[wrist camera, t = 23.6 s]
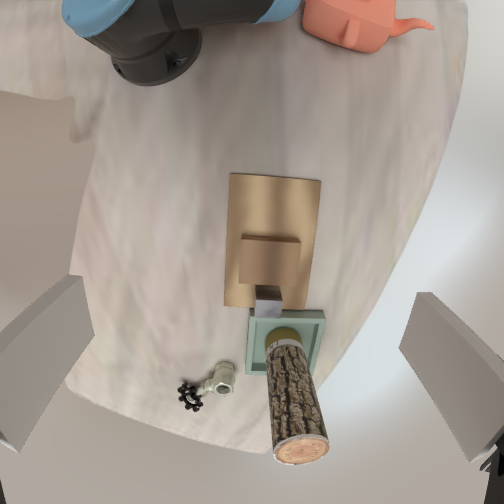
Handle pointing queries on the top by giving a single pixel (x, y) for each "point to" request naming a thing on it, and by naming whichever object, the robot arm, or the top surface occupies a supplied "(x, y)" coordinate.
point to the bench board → (270, 229)
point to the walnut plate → (269, 260)
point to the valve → (210, 386)
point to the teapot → (357, 22)
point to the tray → (300, 321)
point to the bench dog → (267, 301)
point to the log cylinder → (293, 401)
